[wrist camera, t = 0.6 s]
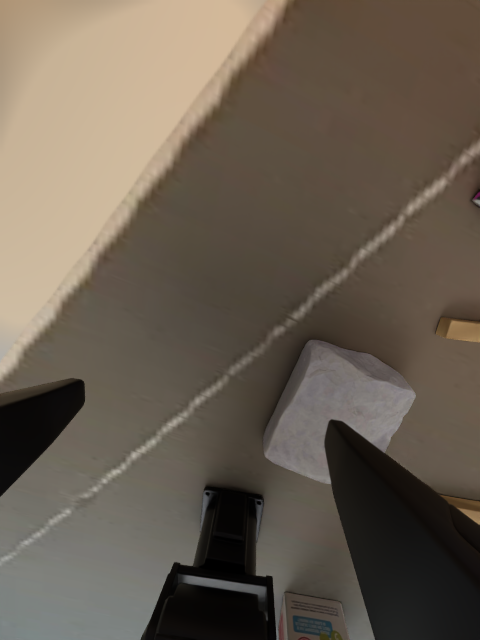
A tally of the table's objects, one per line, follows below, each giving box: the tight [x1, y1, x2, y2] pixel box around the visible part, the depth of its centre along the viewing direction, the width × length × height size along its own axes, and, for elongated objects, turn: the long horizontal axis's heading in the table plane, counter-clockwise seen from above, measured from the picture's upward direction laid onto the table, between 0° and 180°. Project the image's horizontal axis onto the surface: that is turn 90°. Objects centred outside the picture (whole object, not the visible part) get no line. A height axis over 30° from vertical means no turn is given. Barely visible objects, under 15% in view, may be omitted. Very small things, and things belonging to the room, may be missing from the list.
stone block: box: [263, 340, 416, 484], centre depth 20 cm, size 12×5×10 cm
